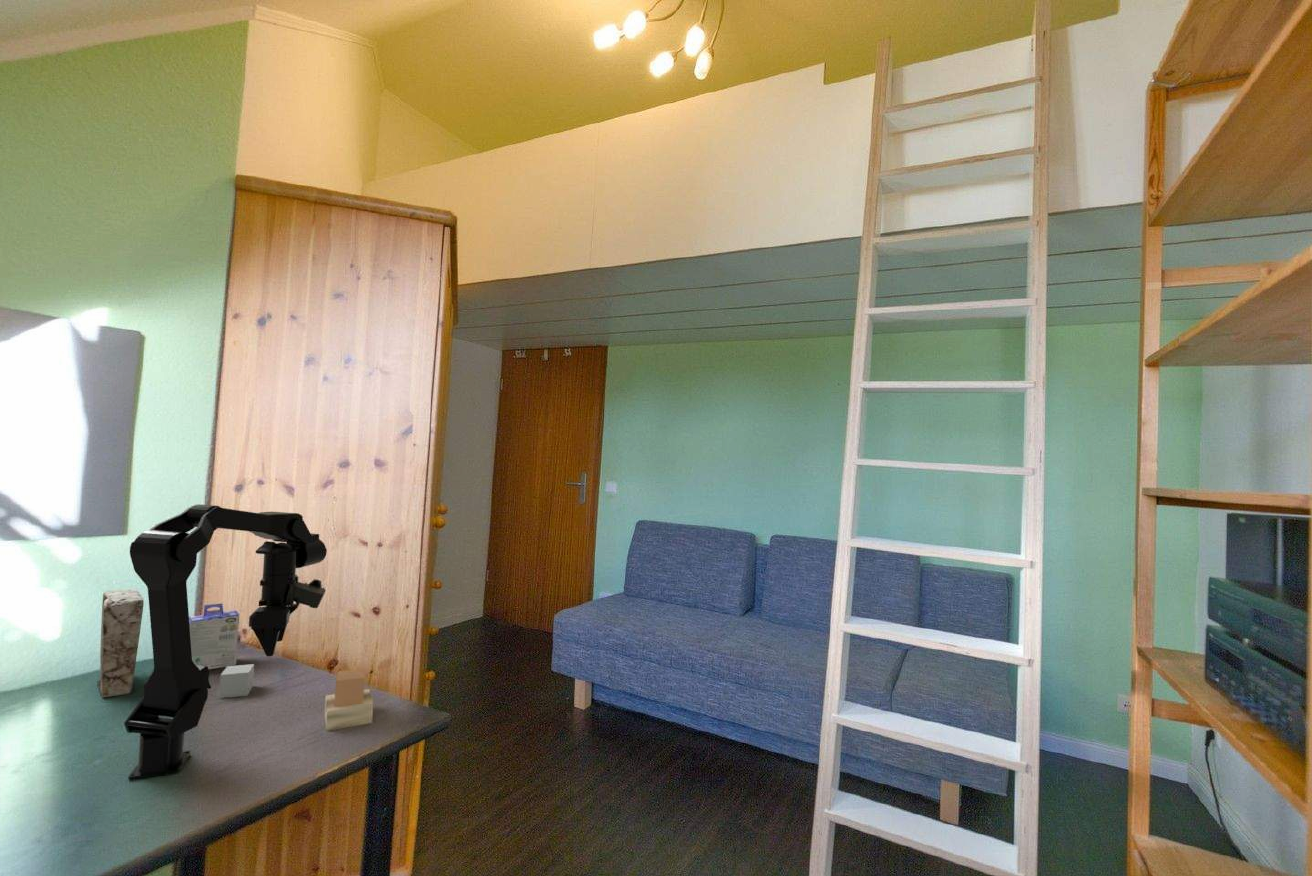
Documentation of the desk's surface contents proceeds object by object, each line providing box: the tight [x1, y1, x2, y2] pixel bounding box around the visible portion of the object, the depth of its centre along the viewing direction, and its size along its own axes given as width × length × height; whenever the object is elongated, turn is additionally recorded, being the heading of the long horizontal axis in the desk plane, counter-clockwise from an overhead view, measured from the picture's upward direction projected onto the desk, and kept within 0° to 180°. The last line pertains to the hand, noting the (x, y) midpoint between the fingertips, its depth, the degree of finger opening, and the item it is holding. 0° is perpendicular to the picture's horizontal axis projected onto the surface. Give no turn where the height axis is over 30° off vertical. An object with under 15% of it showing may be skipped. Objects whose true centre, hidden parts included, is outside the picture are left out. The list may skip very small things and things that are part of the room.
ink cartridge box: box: [189, 603, 240, 671], centre depth 139 cm, size 10×6×14 cm, turn 133°
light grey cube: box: [218, 663, 255, 699], centre depth 126 cm, size 5×5×5 cm
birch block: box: [324, 688, 374, 732], centre depth 117 cm, size 8×8×4 cm
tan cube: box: [334, 668, 366, 707], centre depth 117 cm, size 5×5×5 cm
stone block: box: [96, 589, 145, 698], centre depth 125 cm, size 13×7×20 cm, turn 52°
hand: (274, 648), depth 120 cm, fingers open, 9 cm apart
